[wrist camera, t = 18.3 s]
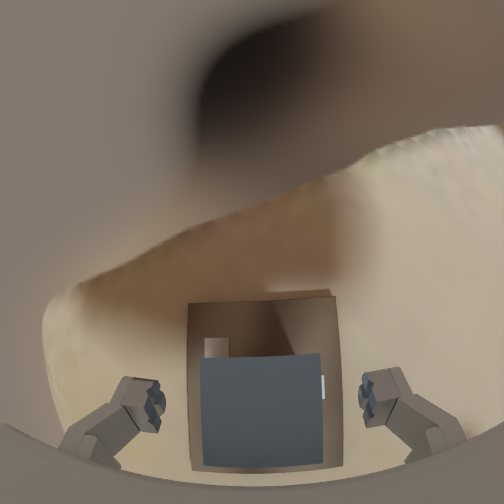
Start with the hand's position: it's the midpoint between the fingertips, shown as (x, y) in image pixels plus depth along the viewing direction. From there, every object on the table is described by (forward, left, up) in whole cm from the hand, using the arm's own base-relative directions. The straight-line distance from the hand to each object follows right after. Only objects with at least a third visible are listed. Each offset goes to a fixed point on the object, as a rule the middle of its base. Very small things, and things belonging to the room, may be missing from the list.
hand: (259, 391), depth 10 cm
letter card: (0, +1, -8) cm, 8 cm away
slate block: (0, +1, -7) cm, 7 cm away
